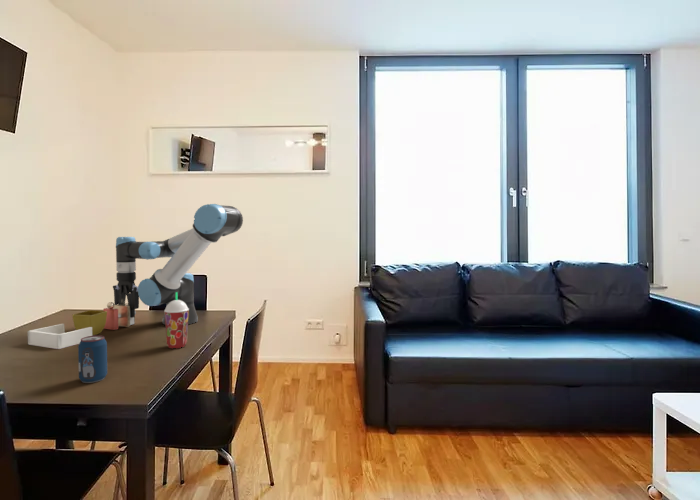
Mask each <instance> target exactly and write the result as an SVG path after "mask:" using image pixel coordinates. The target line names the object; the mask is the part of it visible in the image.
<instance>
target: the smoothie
mask: <svg viewBox="0 0 700 500" xmlns="http://www.w3.org/2000/svg"><path fill="white" fill-rule="evenodd" d="M163 311H164V313H165V338H166V345H167V346H168V348H169V349H173V348H176V349H181V347H182V348H184V347H185V346H186V344H187V343H188V331H189V329H188V327H189V326H188V325H189V324H188V314H189V308H188V307H187V305H186V303H184V302H183V301H181V300H178V292H176V300H173V301H171V302H170V303H169V304H168V305H167V304H166V307H165V309H164V310H163Z"/></svg>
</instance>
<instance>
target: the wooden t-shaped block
mask: <svg viewBox="0 0 700 500" xmlns="http://www.w3.org/2000/svg"><path fill="white" fill-rule="evenodd" d="M102 311H107V317H106V324H105V326H104V328H103V330H104V329H105V330H111V331H113V330H114V331H115V330H118V329H119V327H125V328H129V327H130V326H131V325H130V306H128V302H127V303H126V302H125V304H120V305H118V304H117V305H115V303H114V302H112V301H110V302H108V303H107V304H106V307H105V308H103V310H102ZM136 314H137V311H136V310H135V315H136ZM135 324H136V316H135V317H134V324H133V325H135Z"/></svg>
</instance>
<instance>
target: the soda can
mask: <svg viewBox="0 0 700 500" xmlns="http://www.w3.org/2000/svg"><path fill="white" fill-rule="evenodd" d="M77 345H78V346H77V349H78V350H77V351H78V357H77V358H78V378H79V380H80V381H81V383H83V384H84V383H85V384H93V383H97V382H101V381H103V380H104V379H106V376H107V375H108V342H107V339H105V336H104V335H99V334H96V335H93V336H88V337H84V338H82V339H81V341H80V343H79V344H77Z"/></svg>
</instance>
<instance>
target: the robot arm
mask: <svg viewBox="0 0 700 500" xmlns="http://www.w3.org/2000/svg"><path fill="white" fill-rule="evenodd" d="M193 218H194V219H193V223H192V228H190V229H188V230H186V231H183V232H181V233H179V234H176V235H173V236H172V237H169V238H168V239H165V240H159V241H153V240H152V241H137V240H136V237H135V236H118V237H116V241H115V257H116V258H115V259H116V261H115V262H116V264H115V265H116V266H115V267H116V281H117V284H115V285H113V286H112V289H113V298H114V299H113V300H114V302H113V303H114V304H115V305H120V304H125V303H126V300H127V303H128V306H130V326H131V325H135V324H134V317H135V318H136V314H135V311H136V310H137V309H139V308H140V301H141V303H143V305H146V306H149V307H153V306H154V307H155V306H161V305H164V304H166V306H167V305H168V304H169V303H170V302H171V301H173V300H176V292H178V300H181V301H183V302H184V303H186V305H187V307H188V308H189V314H188V325H193V324H195V322H196V323H198V321H199V319H198V318H199V316H198V314H197V310H196V307H195V303H194V302H195V299H194V298H195V297H194V296H195V294H194V293H195V290H194V289H195V288H194V286H195V285H194V284H195V280H194V275H193V273H190V272H189V270H190V269H191V268H192V266H194V264H195V263H196V262H197V260H199V258H200V257H201V256H202V254H203V253H204V252H205V251H206V249H207V248H208V247H209V246H210V245H211V244H212V243H213V244H214V243H217V242H218V241H219V240H220V238H221V237H225V236H228V235H231V234H234V233H236V232H238V231H239V230H240V229H241V228H242V226H243V222H244V217H243V214H242V212H241V211H240V210H239V209H238V208H237V207H234V205H233V206H231V205H222V204H221V205H220V204H218V203H217V204H216V203H210V204H209V203H207V204H204V205H201V206H200V207H199V208H197V210H196V211H195V213H194V215H193ZM158 258H160V259H161V258H162V259H163V258H170V259H169V260H168V261H167V262H166V264H165V265H164V266H163V267H162V268H159V269H156V270H155V271H154V273H153V274H152V275H151V276H150V277H149V278H144V279H142V280H141V281H139V284H138V286H137V285H136V283H135V281H136V280H137V274H136V270H137V266H136V265H137V263H136V262H137V261H136V260H138V259H139V260H155V259H158ZM188 272H189V273H188ZM192 323H193V324H192ZM162 325H165V312H164V315H163V317H162Z"/></svg>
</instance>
